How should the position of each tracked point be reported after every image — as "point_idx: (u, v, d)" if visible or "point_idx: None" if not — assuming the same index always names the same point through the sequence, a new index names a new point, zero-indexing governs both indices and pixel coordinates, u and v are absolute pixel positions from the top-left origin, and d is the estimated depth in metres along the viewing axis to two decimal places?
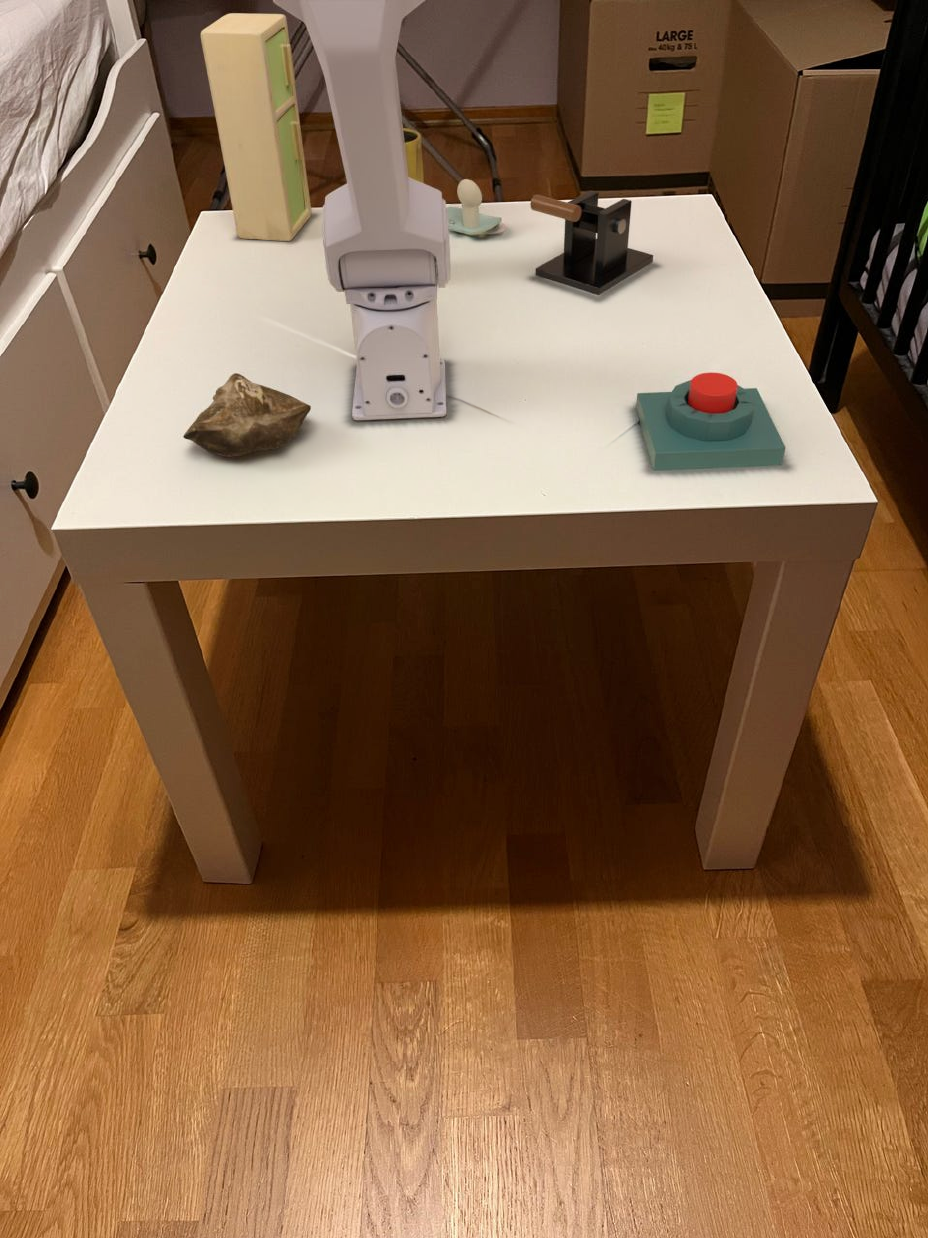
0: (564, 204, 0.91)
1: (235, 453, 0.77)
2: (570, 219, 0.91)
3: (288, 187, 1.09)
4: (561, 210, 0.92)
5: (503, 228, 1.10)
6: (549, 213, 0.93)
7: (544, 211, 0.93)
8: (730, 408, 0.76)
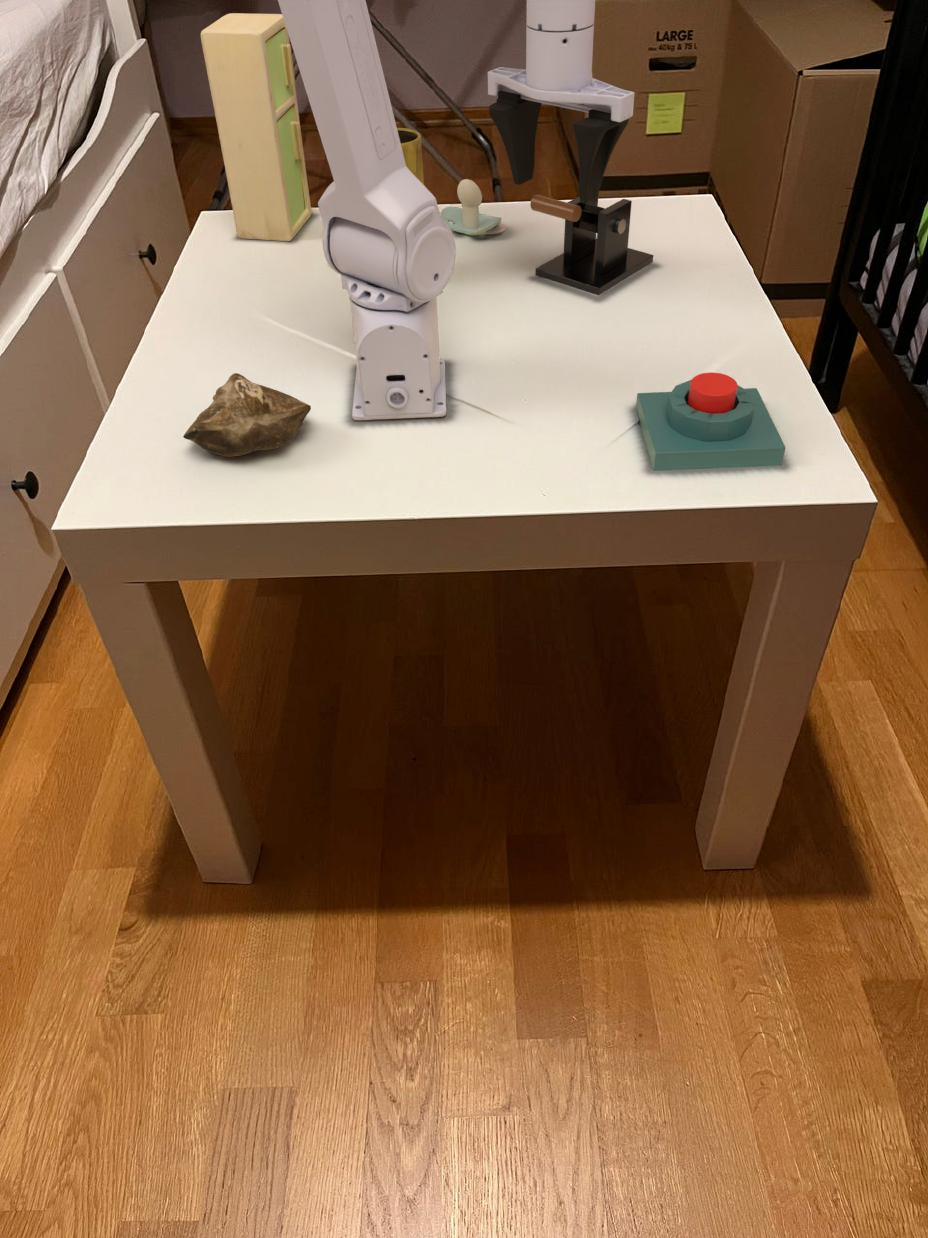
0: (564, 204, 0.91)
1: (235, 453, 0.77)
2: (570, 219, 0.91)
3: (288, 187, 1.09)
4: (561, 210, 0.92)
5: (503, 228, 1.10)
6: (549, 213, 0.93)
7: (544, 211, 0.93)
8: (730, 408, 0.76)
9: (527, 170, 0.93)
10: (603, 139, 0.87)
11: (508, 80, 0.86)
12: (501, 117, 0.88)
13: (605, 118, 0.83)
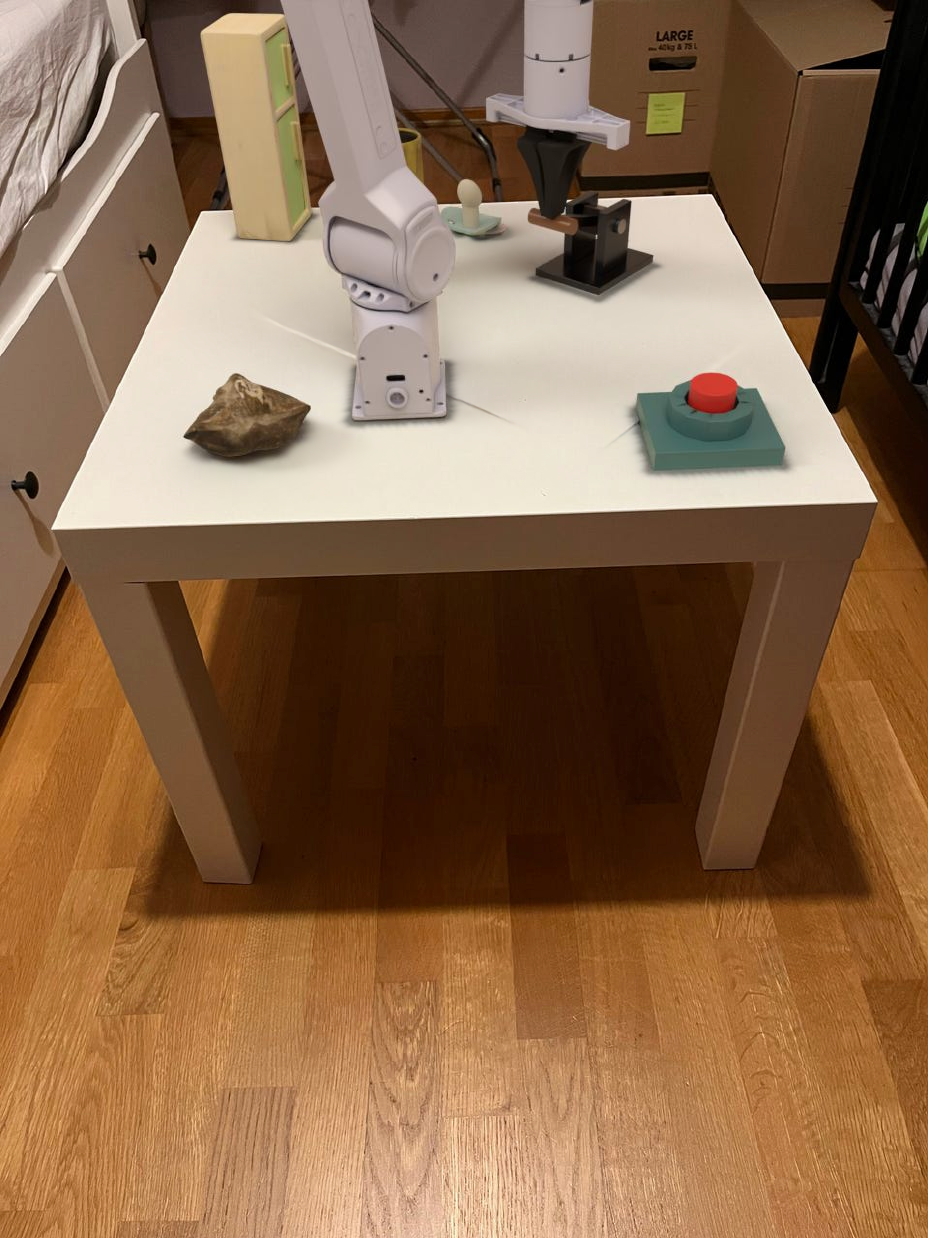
0: (560, 218, 0.92)
1: (235, 453, 0.77)
2: (567, 233, 0.92)
3: (288, 187, 1.09)
4: (558, 225, 0.92)
5: (503, 228, 1.10)
6: (546, 227, 0.93)
7: (541, 225, 0.93)
8: (730, 408, 0.76)
9: None
10: (568, 158, 0.89)
11: (506, 107, 0.88)
12: (529, 151, 0.87)
13: (568, 138, 0.86)
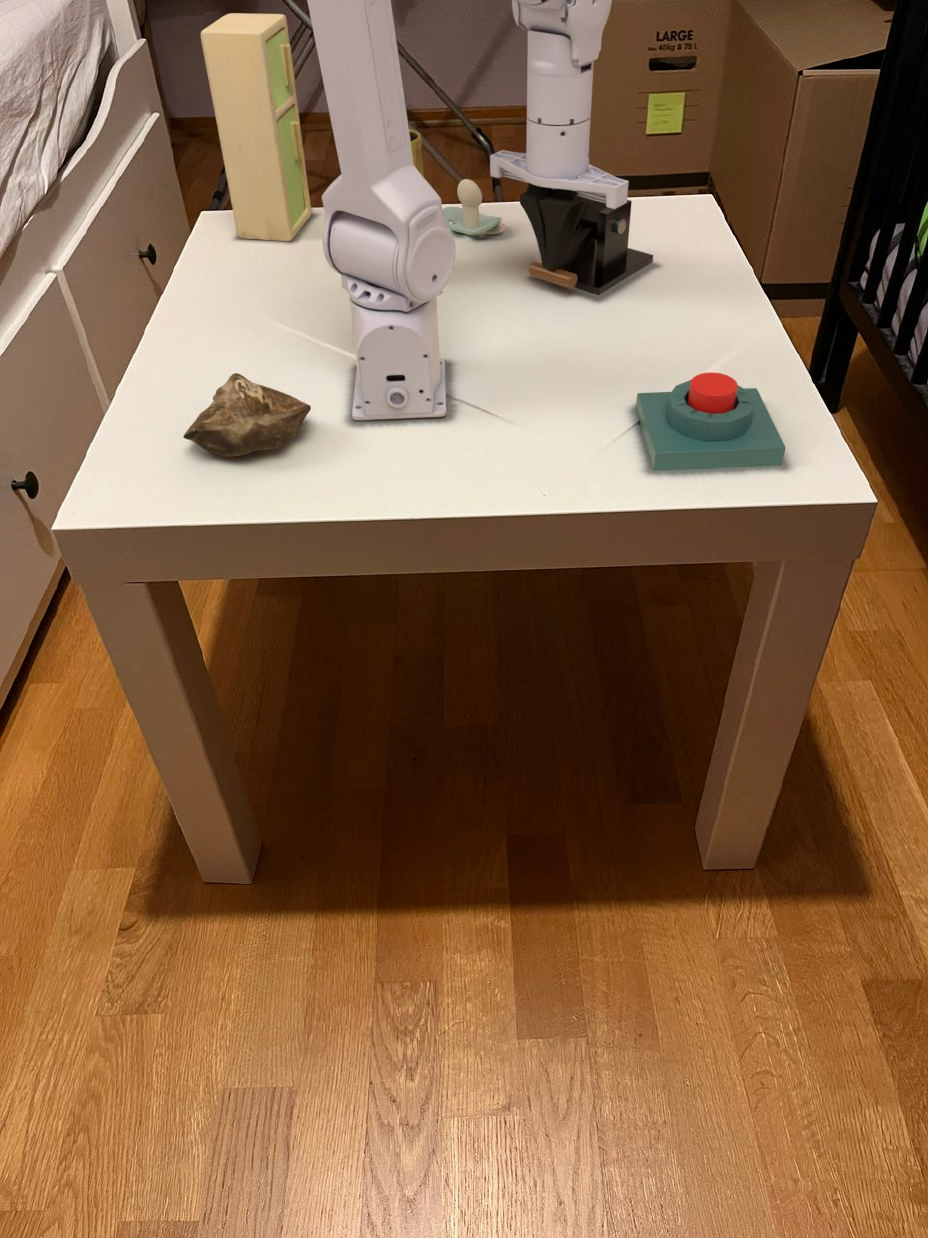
0: (558, 277, 0.96)
1: (235, 453, 0.77)
2: (569, 287, 0.96)
3: (288, 187, 1.09)
4: (558, 283, 0.96)
5: (503, 228, 1.10)
6: None
7: None
8: (730, 408, 0.76)
9: None
10: (569, 213, 0.93)
11: (509, 165, 0.91)
12: (532, 207, 0.91)
13: (569, 196, 0.90)
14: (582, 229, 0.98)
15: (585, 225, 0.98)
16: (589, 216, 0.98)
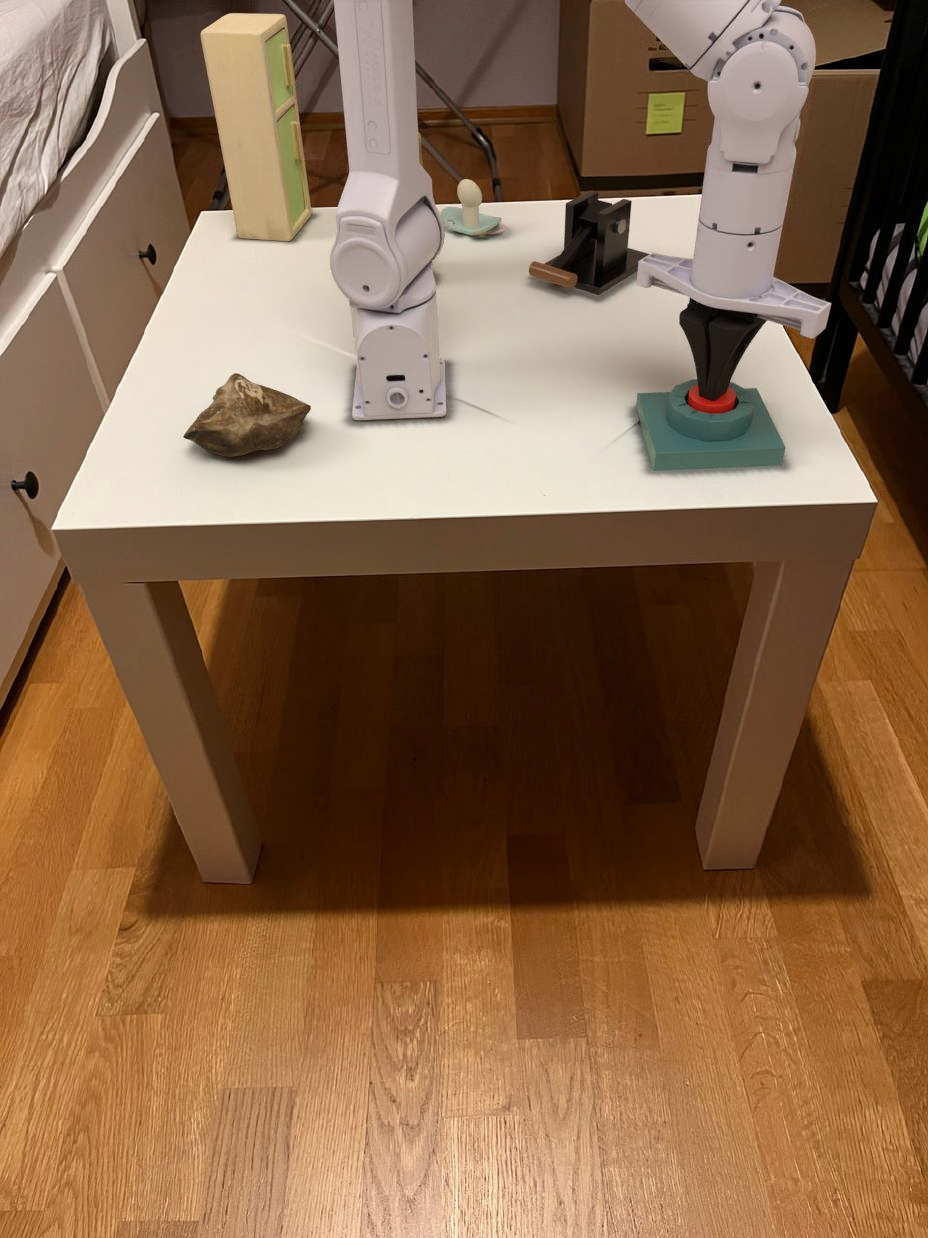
0: (558, 277, 0.96)
1: (235, 453, 0.77)
2: (569, 287, 0.96)
3: (288, 187, 1.09)
4: (558, 283, 0.96)
5: (503, 228, 1.10)
6: None
7: None
8: None
9: None
10: None
11: (667, 276, 0.71)
12: (696, 329, 0.71)
13: (747, 318, 0.70)
14: (582, 229, 0.98)
15: (585, 225, 0.98)
16: (589, 216, 0.98)
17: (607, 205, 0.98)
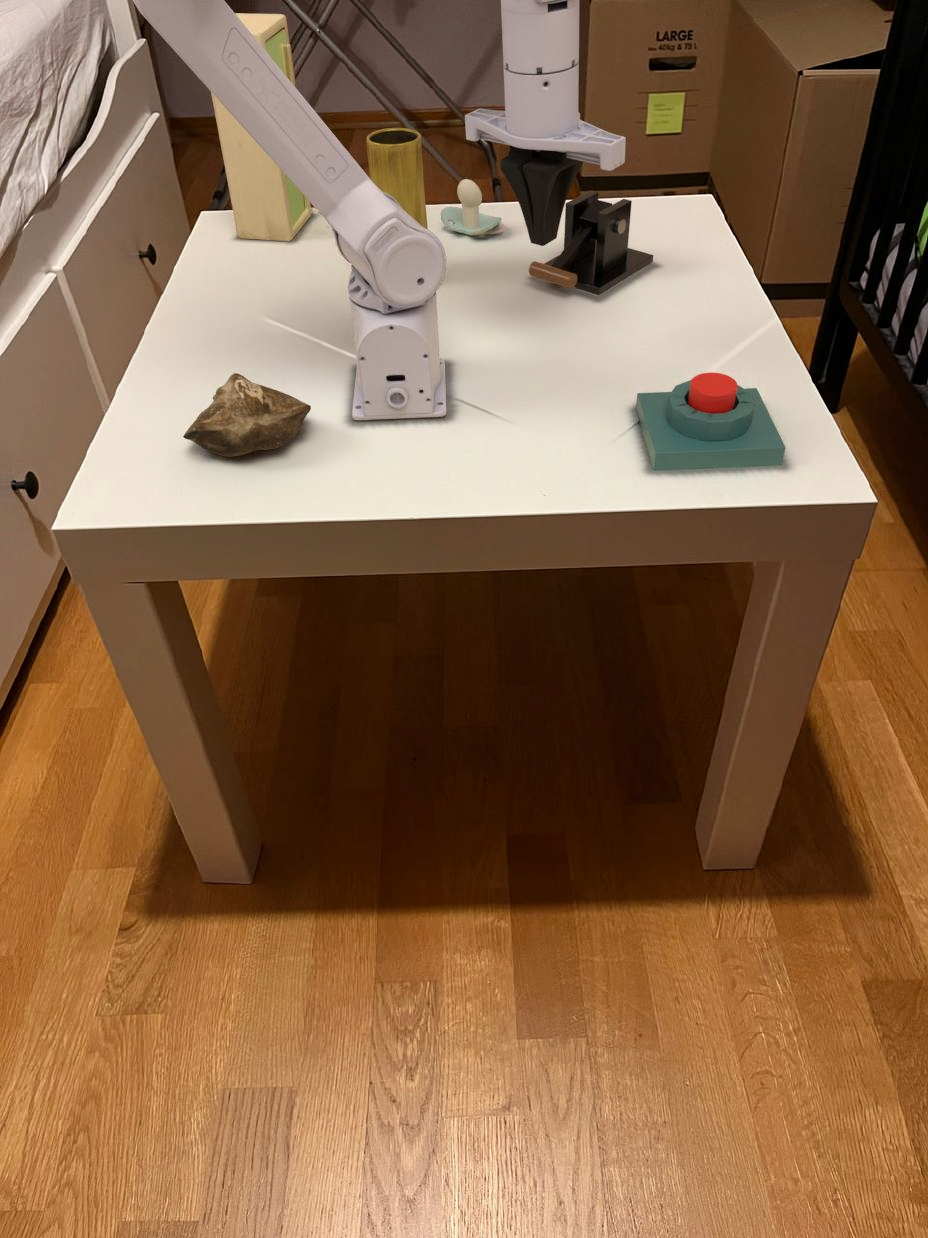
0: (558, 277, 0.96)
1: (235, 453, 0.77)
2: (569, 287, 0.96)
3: (288, 187, 1.09)
4: (558, 283, 0.96)
5: (503, 228, 1.10)
6: None
7: None
8: (730, 408, 0.76)
9: None
10: (558, 179, 0.80)
11: (487, 125, 0.78)
12: (514, 173, 0.78)
13: (557, 158, 0.77)
14: (582, 229, 0.98)
15: (585, 225, 0.98)
16: (589, 216, 0.98)
17: (607, 205, 0.98)
